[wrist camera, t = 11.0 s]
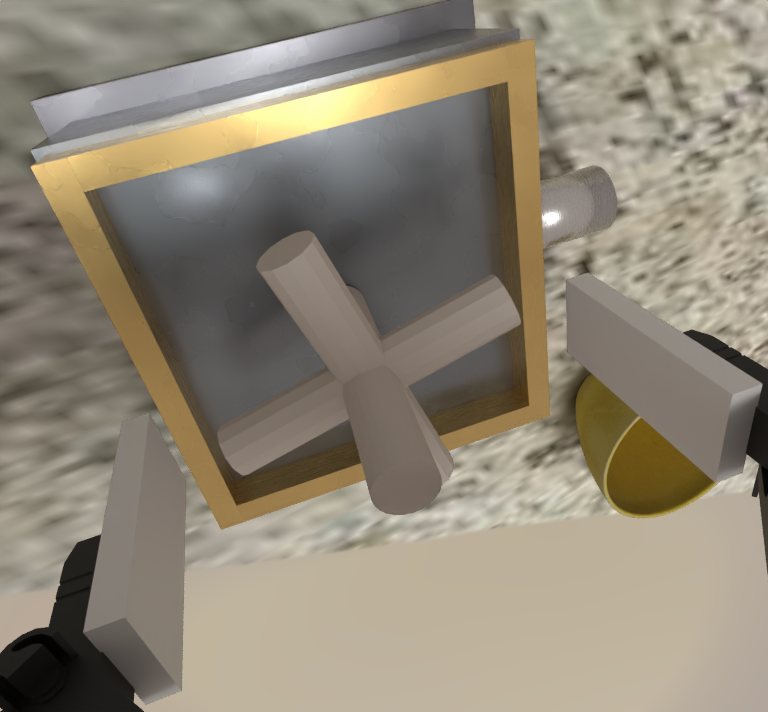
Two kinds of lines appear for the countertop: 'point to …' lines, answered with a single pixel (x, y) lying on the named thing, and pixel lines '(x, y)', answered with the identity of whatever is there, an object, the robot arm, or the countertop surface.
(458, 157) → the grey gold-rimmed box
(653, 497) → the flower pot
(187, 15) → the countertop surface
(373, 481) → the pipe connector
